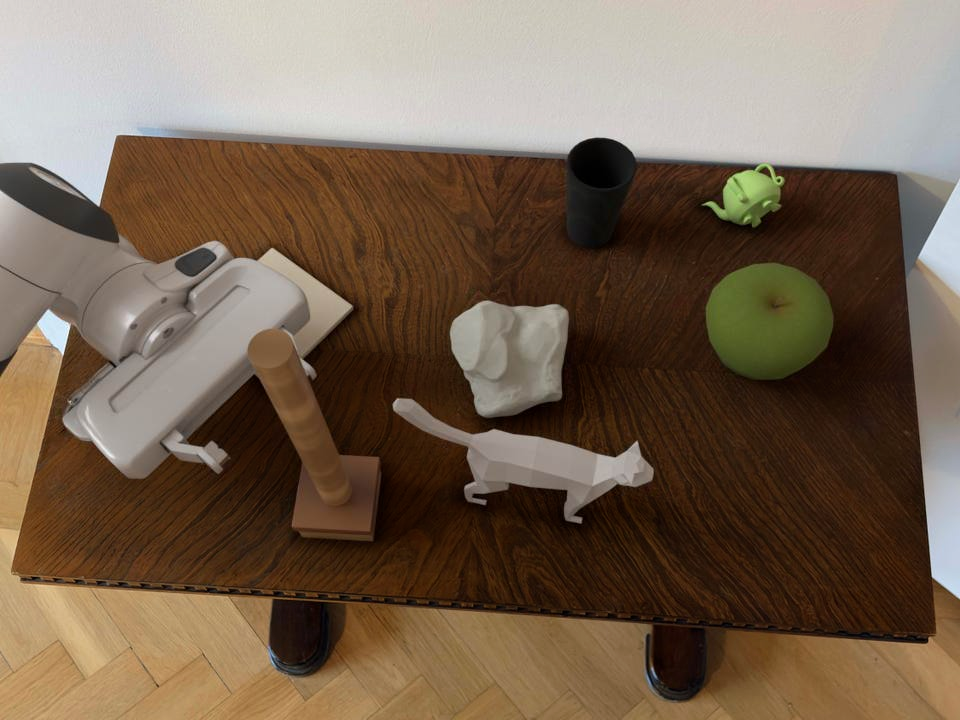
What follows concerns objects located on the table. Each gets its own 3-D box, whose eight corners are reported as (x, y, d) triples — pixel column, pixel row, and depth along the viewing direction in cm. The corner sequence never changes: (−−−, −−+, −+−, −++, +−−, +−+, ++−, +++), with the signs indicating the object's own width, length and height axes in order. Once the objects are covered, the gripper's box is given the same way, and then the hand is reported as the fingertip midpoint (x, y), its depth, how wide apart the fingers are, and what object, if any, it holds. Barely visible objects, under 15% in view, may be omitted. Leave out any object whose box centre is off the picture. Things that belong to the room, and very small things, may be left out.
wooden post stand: (375, 543, 71) (318, 402, 46) (299, 539, 71) (202, 396, 46) (384, 471, 74) (334, 302, 49) (311, 467, 74) (225, 297, 49)
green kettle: (750, 184, 89) (766, 147, 84) (781, 221, 86) (799, 185, 81) (701, 206, 87) (714, 169, 82) (730, 244, 85) (746, 208, 80)
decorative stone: (475, 435, 74) (448, 333, 69) (462, 389, 82) (436, 295, 78) (595, 402, 74) (575, 298, 70) (570, 359, 82) (550, 264, 78)
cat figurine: (630, 537, 71) (662, 480, 59) (399, 490, 73) (383, 425, 61) (636, 488, 73) (669, 422, 61) (412, 443, 75) (398, 370, 63)
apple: (795, 303, 82) (833, 242, 73) (817, 402, 77) (861, 349, 68) (683, 305, 82) (708, 244, 73) (698, 404, 77) (727, 351, 68)
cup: (547, 239, 85) (554, 173, 77) (575, 195, 88) (585, 127, 79) (604, 264, 84) (618, 201, 75) (631, 220, 87) (648, 153, 78)
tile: (272, 389, 78) (271, 386, 77) (191, 324, 81) (189, 321, 80) (354, 309, 82) (353, 306, 81) (273, 250, 85) (272, 247, 84)
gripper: (32, 397, 64) (153, 507, 60) (229, 227, 72) (349, 315, 68) (68, 429, 70) (181, 532, 66) (248, 269, 77) (359, 352, 73)
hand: (267, 421), depth 67 cm, fingers open, 8 cm apart
